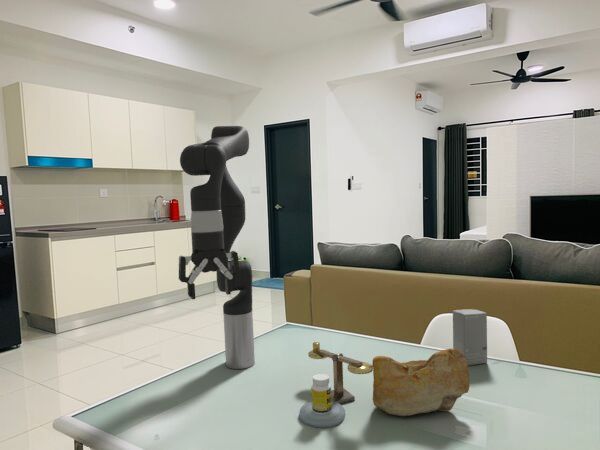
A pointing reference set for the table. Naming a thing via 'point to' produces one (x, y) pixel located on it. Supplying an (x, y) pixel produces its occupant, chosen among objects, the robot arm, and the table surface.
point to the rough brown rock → (420, 383)
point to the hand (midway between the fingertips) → (210, 296)
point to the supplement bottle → (321, 394)
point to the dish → (322, 416)
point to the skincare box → (470, 335)
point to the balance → (340, 371)
